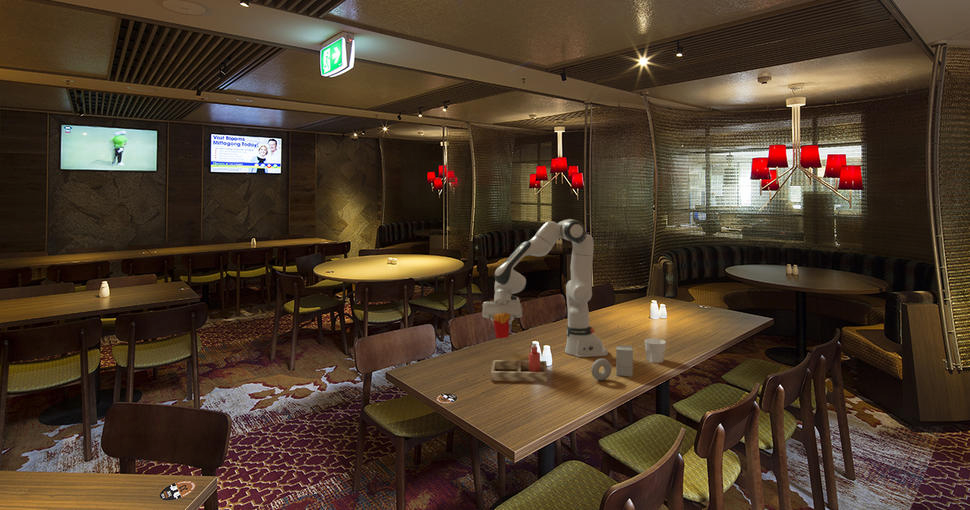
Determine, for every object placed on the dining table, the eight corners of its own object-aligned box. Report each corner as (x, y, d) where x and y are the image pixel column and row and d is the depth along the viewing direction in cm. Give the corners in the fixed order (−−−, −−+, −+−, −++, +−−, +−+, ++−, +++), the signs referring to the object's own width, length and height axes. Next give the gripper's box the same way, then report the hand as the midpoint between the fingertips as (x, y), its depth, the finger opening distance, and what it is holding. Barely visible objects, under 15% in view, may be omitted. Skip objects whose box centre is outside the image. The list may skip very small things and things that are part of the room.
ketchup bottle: (539, 374, 221) (539, 342, 220) (540, 378, 216) (540, 345, 215) (528, 374, 222) (528, 342, 220) (528, 378, 217) (528, 345, 215)
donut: (608, 377, 217) (608, 356, 216) (612, 379, 213) (613, 358, 212) (589, 380, 213) (589, 358, 212) (593, 383, 210) (594, 361, 209)
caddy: (546, 369, 229) (546, 361, 228) (547, 381, 212) (547, 373, 212) (493, 368, 231) (493, 360, 230) (490, 380, 215) (490, 372, 214)
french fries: (496, 339, 234) (495, 315, 233) (493, 337, 238) (492, 313, 237) (511, 336, 238) (510, 313, 236) (508, 334, 241) (507, 311, 240)
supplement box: (632, 371, 224) (633, 345, 222) (632, 377, 217) (632, 350, 215) (616, 370, 226) (617, 344, 225) (615, 375, 219) (616, 348, 218)
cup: (655, 364, 233) (655, 345, 232) (639, 359, 241) (640, 340, 240) (669, 361, 237) (670, 342, 236) (654, 355, 246) (654, 337, 245)
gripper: (482, 297, 244) (480, 321, 235) (521, 297, 242) (522, 320, 233) (483, 304, 248) (481, 327, 240) (522, 304, 247) (522, 327, 238)
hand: (502, 324), depth 236 cm, fingers closed on french fries, 6 cm apart
